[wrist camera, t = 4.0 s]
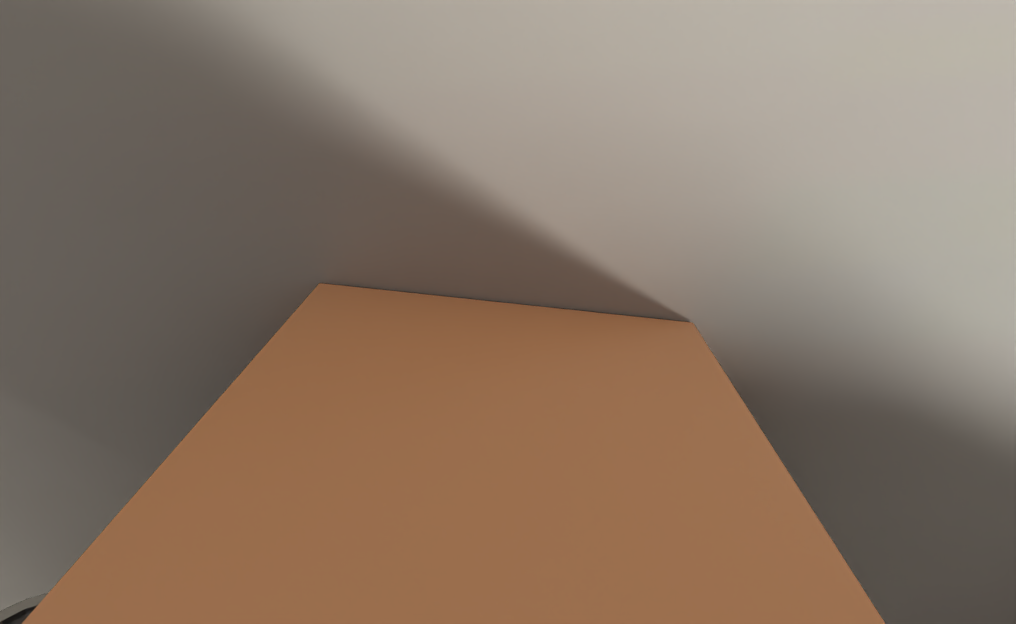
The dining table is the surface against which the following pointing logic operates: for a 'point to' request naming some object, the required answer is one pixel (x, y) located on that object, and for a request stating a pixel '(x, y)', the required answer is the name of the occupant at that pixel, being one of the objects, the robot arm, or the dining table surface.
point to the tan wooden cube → (467, 484)
